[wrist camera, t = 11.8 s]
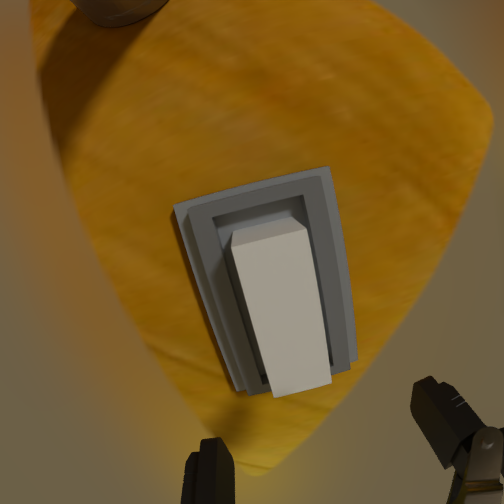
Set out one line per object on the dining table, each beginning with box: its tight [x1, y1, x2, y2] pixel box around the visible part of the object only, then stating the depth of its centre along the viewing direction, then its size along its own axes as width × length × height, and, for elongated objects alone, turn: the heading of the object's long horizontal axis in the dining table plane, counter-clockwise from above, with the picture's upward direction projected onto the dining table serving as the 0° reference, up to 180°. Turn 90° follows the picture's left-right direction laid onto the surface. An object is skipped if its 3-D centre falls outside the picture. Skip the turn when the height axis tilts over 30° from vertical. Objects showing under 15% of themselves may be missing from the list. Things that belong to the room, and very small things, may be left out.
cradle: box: [173, 166, 358, 396], centre depth 23 cm, size 12×18×2 cm, turn 14°
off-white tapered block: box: [231, 217, 332, 398], centre depth 21 cm, size 4×12×5 cm, turn 14°
